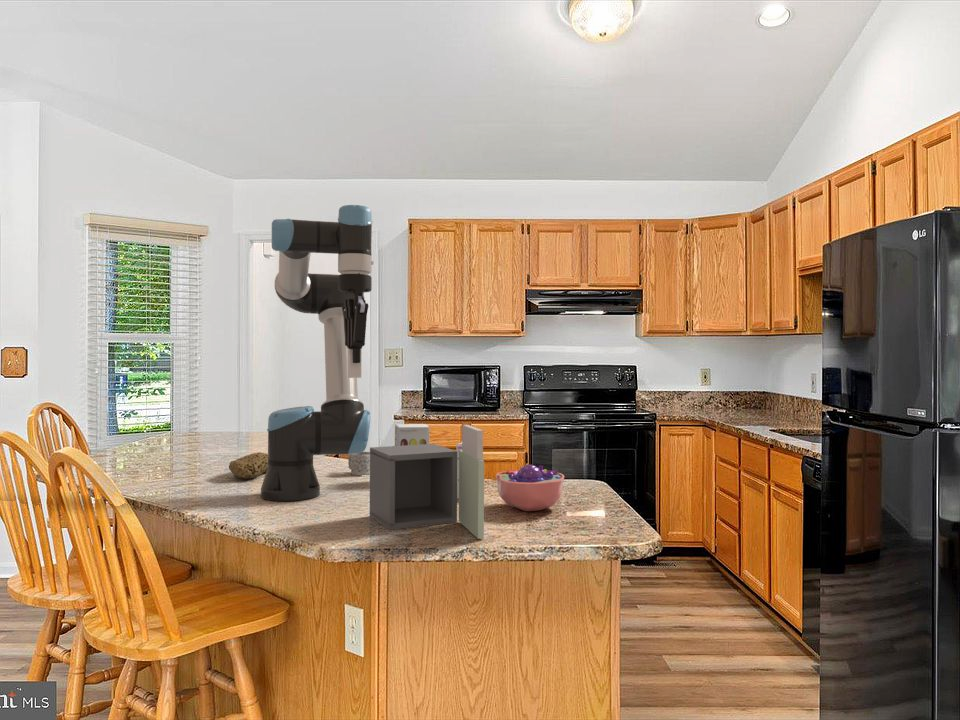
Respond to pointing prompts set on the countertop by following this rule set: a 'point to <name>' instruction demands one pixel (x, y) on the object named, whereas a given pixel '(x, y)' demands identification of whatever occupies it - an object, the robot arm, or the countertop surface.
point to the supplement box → (411, 434)
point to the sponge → (250, 465)
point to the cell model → (530, 487)
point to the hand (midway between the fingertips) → (354, 377)
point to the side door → (471, 481)
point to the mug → (359, 463)
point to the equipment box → (413, 485)
